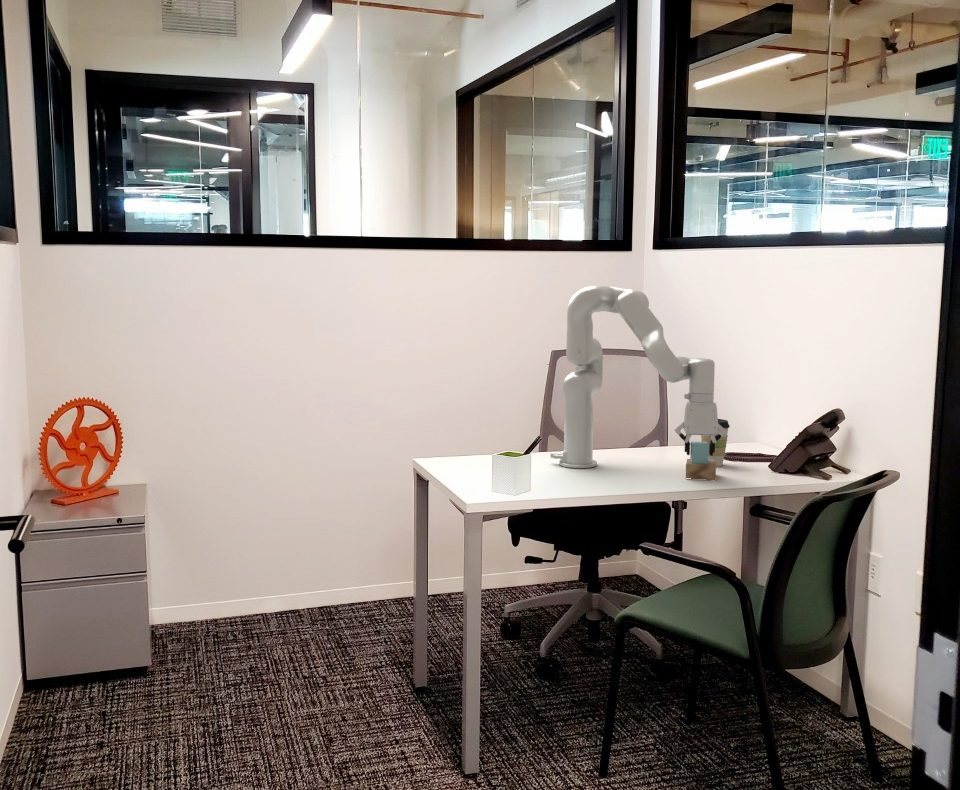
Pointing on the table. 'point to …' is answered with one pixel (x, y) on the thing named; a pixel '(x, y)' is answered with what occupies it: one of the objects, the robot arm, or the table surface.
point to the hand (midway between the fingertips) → (699, 454)
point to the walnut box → (701, 470)
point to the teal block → (699, 452)
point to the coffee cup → (718, 444)
